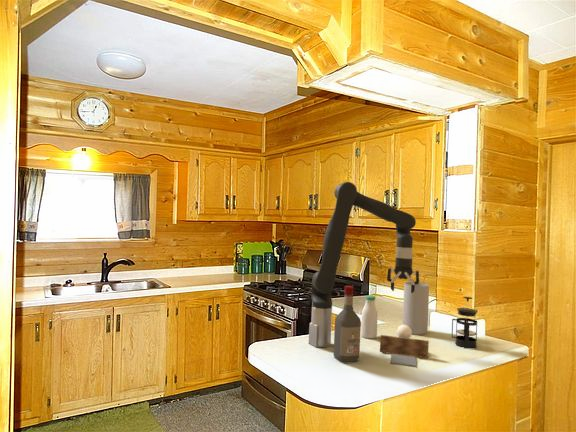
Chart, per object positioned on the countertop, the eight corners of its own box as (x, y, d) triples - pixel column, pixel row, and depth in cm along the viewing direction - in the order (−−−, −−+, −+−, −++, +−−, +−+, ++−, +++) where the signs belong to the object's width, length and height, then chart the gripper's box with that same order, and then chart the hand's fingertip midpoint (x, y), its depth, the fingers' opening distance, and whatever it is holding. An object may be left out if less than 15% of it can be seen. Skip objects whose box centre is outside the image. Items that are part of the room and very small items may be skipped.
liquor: (361, 361, 163) (364, 288, 163) (341, 364, 160) (344, 288, 160) (350, 354, 172) (353, 284, 172) (331, 356, 168) (334, 284, 168)
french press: (477, 344, 193) (479, 296, 192) (479, 350, 184) (481, 300, 184) (451, 340, 197) (453, 293, 197) (451, 346, 188) (453, 297, 188)
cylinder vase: (424, 329, 215) (426, 282, 215) (429, 336, 203) (431, 286, 203) (400, 327, 217) (402, 281, 217) (404, 334, 205) (406, 285, 205)
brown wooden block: (379, 352, 175) (380, 336, 175) (380, 349, 180) (381, 333, 180) (428, 359, 169) (428, 342, 169) (427, 355, 174) (428, 339, 174)
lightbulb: (394, 346, 184) (395, 322, 184) (407, 346, 184) (408, 323, 184) (399, 351, 178) (400, 326, 178) (413, 351, 178) (414, 327, 178)
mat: (390, 363, 162) (390, 362, 162) (391, 355, 172) (391, 354, 172) (416, 367, 160) (416, 365, 159) (415, 358, 169) (415, 357, 169)
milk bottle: (376, 339, 194) (378, 298, 194) (360, 338, 195) (362, 297, 195) (376, 335, 201) (378, 295, 201) (360, 333, 203) (362, 294, 203)
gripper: (387, 256, 186) (385, 291, 186) (419, 258, 181) (417, 294, 181) (389, 255, 193) (388, 288, 193) (420, 257, 188) (419, 292, 188)
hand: (402, 291), depth 187 cm, fingers open, 8 cm apart
